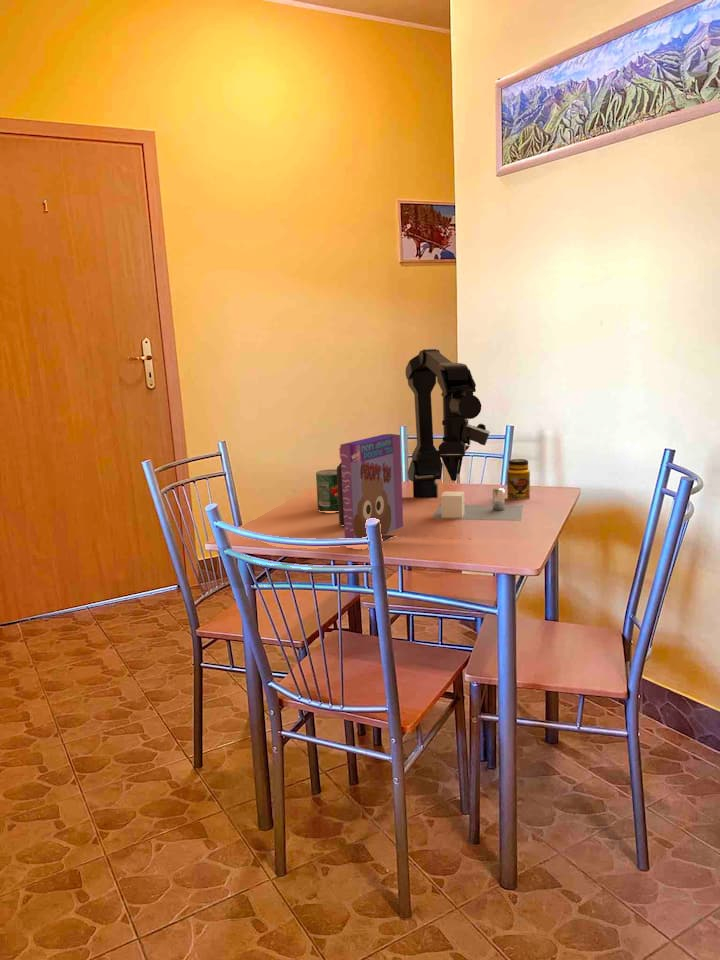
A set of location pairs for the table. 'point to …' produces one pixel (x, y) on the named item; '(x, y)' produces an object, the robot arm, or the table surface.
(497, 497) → the post
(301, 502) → the table surface
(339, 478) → the bottle
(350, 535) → the cereal box
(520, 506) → the base plate
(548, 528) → the table surface
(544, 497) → the table surface
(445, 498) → the cream colored cube
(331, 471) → the canned tomato
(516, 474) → the condiment
